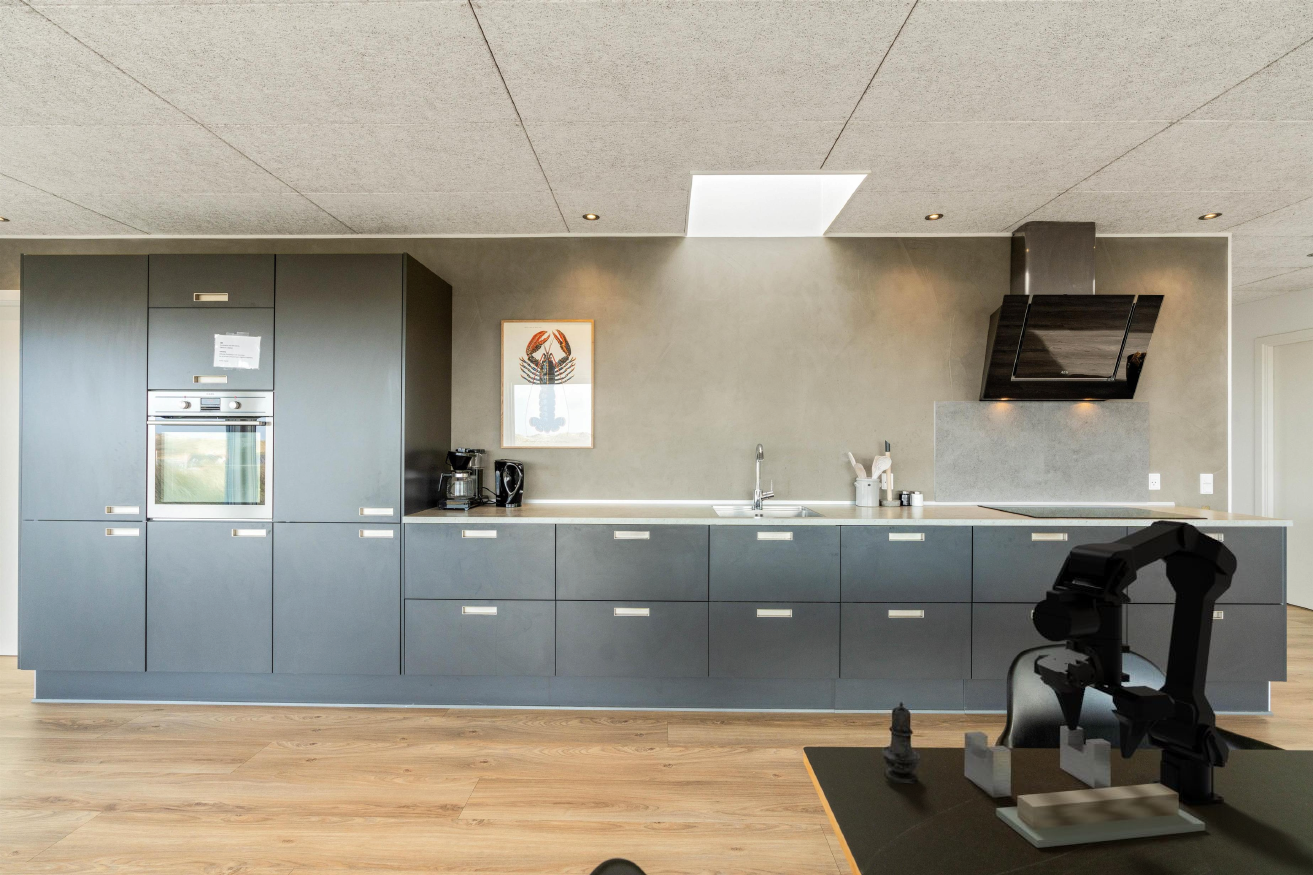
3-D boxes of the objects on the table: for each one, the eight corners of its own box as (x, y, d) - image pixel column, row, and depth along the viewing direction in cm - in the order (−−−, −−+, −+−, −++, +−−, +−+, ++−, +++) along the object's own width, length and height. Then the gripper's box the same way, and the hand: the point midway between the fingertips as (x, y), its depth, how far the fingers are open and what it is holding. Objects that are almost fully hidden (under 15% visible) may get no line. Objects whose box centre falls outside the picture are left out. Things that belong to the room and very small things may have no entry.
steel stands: (1075, 766, 111) (1075, 724, 112) (1110, 786, 105) (1110, 742, 105) (964, 775, 108) (964, 732, 108) (993, 797, 101) (993, 751, 101)
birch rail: (1159, 803, 98) (1159, 782, 98) (1178, 814, 95) (1178, 793, 95) (1017, 816, 94) (1017, 795, 94) (1033, 828, 91) (1033, 806, 91)
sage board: (1152, 800, 101) (1152, 793, 101) (1204, 830, 93) (1204, 822, 93) (996, 815, 96) (996, 808, 96) (1037, 847, 88) (1037, 840, 88)
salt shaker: (923, 786, 104) (923, 710, 104) (884, 782, 105) (885, 706, 105) (916, 769, 110) (916, 696, 110) (879, 765, 111) (880, 693, 111)
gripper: (1003, 619, 103) (1003, 720, 102) (1105, 656, 84) (1105, 779, 84) (1065, 617, 105) (1065, 716, 104) (1178, 653, 86) (1178, 773, 86)
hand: (1097, 743), depth 95 cm, fingers open, 9 cm apart
